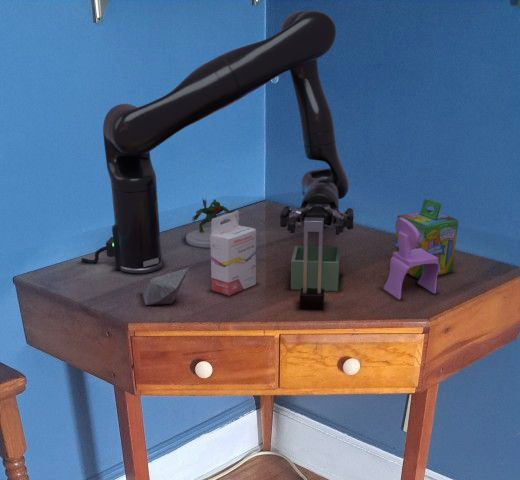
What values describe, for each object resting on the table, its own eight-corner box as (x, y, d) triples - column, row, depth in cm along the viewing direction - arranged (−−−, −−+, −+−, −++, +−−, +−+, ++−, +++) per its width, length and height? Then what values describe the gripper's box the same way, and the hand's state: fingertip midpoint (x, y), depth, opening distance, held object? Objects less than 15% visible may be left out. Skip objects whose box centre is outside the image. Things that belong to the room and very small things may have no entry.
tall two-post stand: (299, 309, 153) (301, 221, 145) (301, 302, 156) (302, 216, 148) (322, 310, 153) (325, 222, 145) (323, 303, 156) (326, 216, 148)
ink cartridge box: (229, 297, 159) (227, 223, 152) (211, 291, 162) (208, 219, 155) (257, 284, 165) (257, 213, 158) (239, 279, 167) (237, 209, 161)
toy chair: (440, 295, 159) (448, 220, 152) (401, 301, 156) (407, 225, 149) (418, 280, 166) (424, 209, 159) (380, 286, 163) (385, 214, 156)
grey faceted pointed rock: (124, 301, 154) (134, 273, 160) (146, 324, 157) (154, 295, 164) (173, 275, 149) (181, 246, 155) (195, 298, 152) (201, 270, 159)
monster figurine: (198, 250, 183) (196, 206, 179) (178, 236, 193) (175, 193, 188) (245, 242, 188) (245, 199, 184) (223, 228, 198) (222, 187, 193)
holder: (290, 289, 162) (291, 260, 159) (294, 273, 170) (295, 245, 168) (337, 291, 161) (338, 262, 158) (339, 274, 169) (340, 247, 167)
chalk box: (391, 268, 172) (396, 199, 166) (423, 260, 177) (429, 193, 170) (421, 281, 166) (427, 210, 159) (454, 272, 170) (461, 203, 163)
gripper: (285, 186, 166) (277, 208, 152) (355, 188, 165) (353, 210, 150) (285, 221, 170) (277, 246, 155) (353, 224, 168) (351, 249, 154)
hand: (314, 229), depth 153 cm, fingers open, 8 cm apart
